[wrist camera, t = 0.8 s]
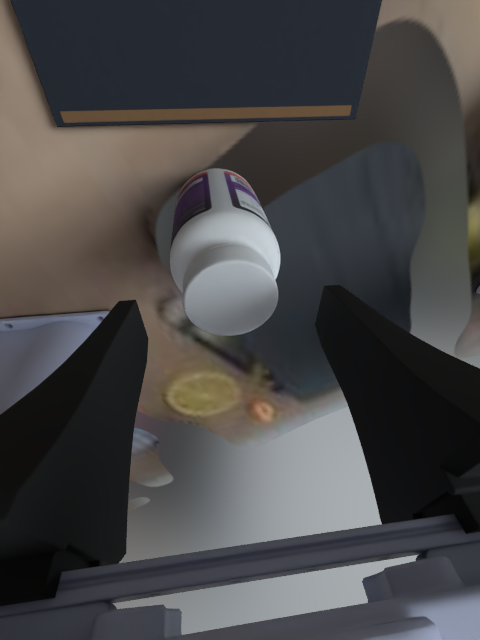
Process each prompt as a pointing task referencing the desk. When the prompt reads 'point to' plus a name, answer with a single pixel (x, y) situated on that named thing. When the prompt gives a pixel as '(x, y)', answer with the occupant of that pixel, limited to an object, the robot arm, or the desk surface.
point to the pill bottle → (224, 254)
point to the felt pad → (199, 59)
